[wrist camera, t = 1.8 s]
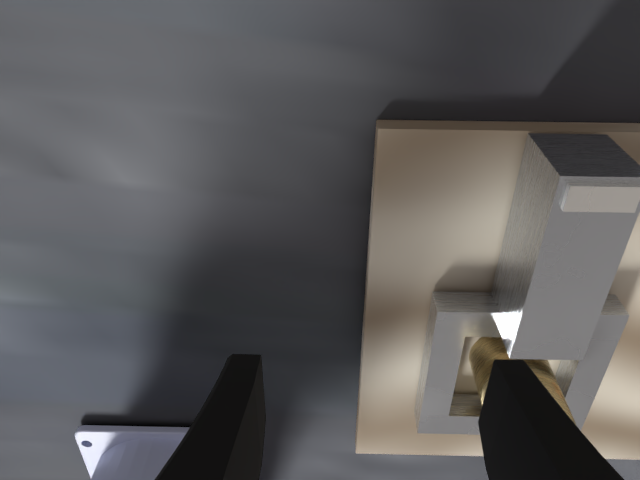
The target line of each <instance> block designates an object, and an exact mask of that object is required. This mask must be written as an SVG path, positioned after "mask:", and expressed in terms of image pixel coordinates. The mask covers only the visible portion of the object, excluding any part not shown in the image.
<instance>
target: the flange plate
mask: <svg viewBox="0 0 640 480" xmlns="http://www.w3.org/2000/svg"><path fill="white" fill-rule="evenodd" d="M639 212H640V165H639V164H638V163H637V162H636V161H635V160H634V159H632V158H631V157H630V156H629V155H628V154H627V153H626V152H625V151H624V150H623V149H622V148H621V147H620V146H619V145H618V144H616V143H615V142H614V141H613V140H612V139H611V138H610V137H609V136H608V135H607V134H545V133H528V134H527V138H526V143H525V147H524V152H523V156H522V160H521V165H520V169H519V173H518V178H517V182H516V186H515V191H514V195H513V199H512V204H511V208H510V212H509V217H508V221H507V225H506V230H505V234H504V238H503V243H502V247H501V252H500V256H499V260H498V265H497V269H496V273H495V278H494V282H493V286H492V291H491V292H444V291H432V298H431V304H430V311H429V317H428V324H427V330H426V337H425V343H424V350H423V356H422V363H421V369H420V376H419V382H418V389H417V395H416V402H415V408H414V414H415V420H416V427H417V433H422V434H468V435H480V431H479V425H478V420H479V416H480V412H481V409H482V405H481V402H480V398H479V395H477V394H453V393H454V388H455V383H456V378H457V374H458V369H459V364H460V359H461V354H462V350H463V345H464V340H465V337H502V340H503V343H504V345H505V348H506V351H507V353H508V356H509V359H541V360H561V361H560V364H559V367H558V369H557V372H556V375H555V377H556V380H557V382H558V384H559V386H560V389H561V391H562V393H563V396H564V398H565V400H566V402H567V405H568V407H569V409H570V411H571V414H572V416H573V418H574V420H575V423H576V425H577V427H578V428H579V429H580V431H581V429H582V427H583V425H584V422H585V420H586V418H587V415H588V413H589V410H590V408H591V406H592V403H593V401H594V399H595V396H596V394H597V392H598V389H599V387H600V384H601V382H602V380H603V377H604V375H605V373H606V370H607V368H608V366H609V363H610V361H611V358H612V356H613V354H614V351H615V349H616V347H617V344H618V342H619V340H620V337H621V335H622V332H623V330H624V328H625V325H626V323H627V321H628V318H629V316H630V315H629V314H628V312H627V311H626V309H625V308H624V306H623V305H622V303H621V302H620V300H619V299H618V297H617V296H616V295H614V294H608V293H609V290H610V288H611V285H612V282H613V280H614V277H615V275H616V272H617V269H618V267H619V264H620V262H621V259H622V256H623V254H624V251H625V248H626V246H627V243H628V241H629V238H630V235H631V233H632V230H633V228H634V225H635V222H636V220H637V217H638V215H639Z"/></svg>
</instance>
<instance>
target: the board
mask: <svg viewBox="0 0 640 480" xmlns="http://www.w3.org/2000/svg"><path fill="white" fill-rule="evenodd" d="M528 133H545V134H607V135H608V136H609V137H610V138H611V139H612V140H613V141H614V142H615V143H616V144H618V145H619V146H620V147H621V148H622V149H623V150H624V151H625V152H626V153H627V154H628V155H629V156H630V157H631V158H632V159H634V160H635V161H636V162H637V163H638V164H639V165H640V123H588V122H512V121H435V120H376V134H375V149H374V164H373V179H372V194H371V210H370V225H369V240H368V255H367V270H366V285H365V301H364V316H363V331H362V346H361V361H360V377H359V392H358V407H357V422H356V437H355V443H356V453H364V454H409V455H455V456H484V455H483V449H482V443H481V437H480V435H468V434H422V433H417V427H416V420H415V414H414V408H415V402H416V395H417V389H418V382H419V376H420V369H421V363H422V356H423V350H424V343H425V337H426V330H427V324H428V317H429V311H430V304H431V298H432V291H444V292H491V291H492V286H493V282H494V278H495V273H496V269H497V265H498V260H499V256H500V252H501V247H502V243H503V238H504V234H505V230H506V225H507V221H508V217H509V212H510V208H511V204H512V199H513V195H514V191H515V186H516V182H517V178H518V173H519V169H520V165H521V160H522V156H523V152H524V147H525V143H526V138H527V134H528ZM608 294H614V295H616V296H617V297H618V299H619V300H620V302H621V303H622V305H623V306H624V308H625V309H626V311H627V312H628V314H629V315H630V316H629V318H628V321H627V323H626V325H625V328H624V330H623V332H622V335H621V337H620V340H619V342H618V344H617V347H616V349H615V351H614V354H613V356H612V358H611V361H610V363H609V366H608V368H607V370H606V373H605V375H604V377H603V380H602V382H601V384H600V387H599V389H598V392H597V394H596V396H595V399H594V401H593V403H592V406H591V408H590V410H589V413H588V415H587V418H586V420H585V422H584V425H583V427H582V429H581V432H582V433H583V434H584V435H585V436H586V438H587V439H588V440H589V441H590V442H591V443H592V445H593V446H594V447H595V448H596V449H597V450H598V451H599V453H600V454H601V455H602V456H603V457H604V458H605V459H637V460H640V212H639V215H638V217H637V220H636V222H635V225H634V228H633V230H632V233H631V235H630V238H629V241H628V243H627V246H626V248H625V251H624V254H623V256H622V259H621V262H620V264H619V267H618V269H617V272H616V275H615V277H614V280H613V282H612V285H611V288H610V290H609V293H608ZM480 338H481V337H465V340H464V345H463V350H462V354H461V359H460V364H459V369H458V374H457V378H456V383H455V388H454V393H453V394H477V395H479V394H478V391H477V387H476V384H475V380H474V377H473V373H472V369H471V366H470V362H469V353H470V350H471V348H472V346H473V345H474V344H475V342H476V341H477V340H479V339H480ZM560 361H561V360H548V362H549V364H550V366H551V368H552V371H553V373H554V375H556V372H557V369H558V367H559V364H560Z"/></svg>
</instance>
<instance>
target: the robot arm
mask: <svg viewBox="0 0 640 480" xmlns="http://www.w3.org/2000/svg"><path fill="white" fill-rule="evenodd" d="M265 422H266V413H265V400H264V386H263V373H262V360H261V355H248V354H232V355H231V356H230V357H229V358H228V359H227V361H226V363H225V366H224V368H223V370H222V372H221V374H220V376H219V378H218V380H217V382H216V384H215V386H214V387H213V389H212V391H211V393H210V395H209V396H208V398H207V400H206V402H205V403H204V405H203V407H202V409H201V410H200V412H199V414H198V415H197V417H196V418H195V420H194V422H193V423H192V425H191V426H190V427H153V426H106V425H82V426H79V427H78V428H77V430H76V432H75V438H76V441H77V444H78V446H79V449H80V451H81V454H82V457H83V459H84V462H85V464H86V467H87V470H88V472H89V475H90V477H91V480H259V476H260V471H261V465H262V455H263V445H264V433H265ZM478 425H479V431H480V437H481V443H482V449H483V455H484V460H485V466H486V470H487V474H488V477H489V480H624V479H623V478H622V477H621V476H620V475H619V474H618V473H617V472H616V470H615V469H614V468H613V467H612V466H611V465H610V464H609V463H608V462H607V460H606V459H605V458H604V457H603V456H602V455H601V454H600V453H599V451H598V450H597V449H596V448H595V447H594V446H593V445H592V443H591V442H590V441H589V440H588V439H587V438H586V436H585V435H584V434H583V433H582V432H581V431H580V429H579V428H578V427H577V426H576V425H575V423H574V422H573V421H572V420H571V419H570V417H569V416H568V415H567V414H566V413H565V411H564V410H563V409H562V408H561V406H560V405H559V404H558V403H557V401H556V400H555V399H554V398H553V396H552V395H551V394H550V393H549V391H548V390H547V389H546V388H545V386H544V385H543V384H542V382H541V381H540V380H539V379H538V377H537V376H536V375H535V374H534V372H533V371H532V370H531V368H530V367H529V366H528V365H527V363H526V362H525V361H524V360H506V359H494V362H493V366H492V369H491V373H490V377H489V381H488V385H487V389H486V393H485V397H484V401H483V405H482V409H481V412H480V416H479V420H478Z"/></svg>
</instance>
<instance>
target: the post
mask: <svg viewBox="0 0 640 480" xmlns="http://www.w3.org/2000/svg"><path fill="white" fill-rule="evenodd" d="M494 359H506V360H524V361H525V362H526V363H527V365H528V366H529V367H530V368H531V370H532V371H533V372H534V374H535V375H536V376H537V377H538V379H539V380H540V381H541V382H542V384H543V385H544V386H545V388H546V389H547V390H548V391H549V393H550V394H551V395H552V396H553V398H554V399H555V400H556V401H557V403H558V404H559V405H560V406H561V408H562V409H563V410H564V411H565V413H566V414H567V415H568V416H569V417H570V419H571V420H572V421H573V422H574V423H575V420H574V418H573V416H572V414H571V411H570V409H569V407H568V405H567V402H566V400H565V398H564V396H563V393H562V391H561V389H560V386H559V384H558V382H557V380H556V377H555V375H554V373H553V371H552V368H551V366H550V364H549V362H548V360H541V359H509V356H508V353H507V351H506V348H505V345H504V343H503V340H502V337H481V338H480V339H479V340H477V341H476V342H475V344H474V345H473V346H472V348H471V350H470V353H469V362H470V366H471V369H472V373H473V377H474V380H475V384H476V387H477V391H478V394H479V398H480V402H481V405H483V401H484V397H485V393H486V389H487V385H488V381H489V377H490V373H491V369H492V366H493V362H494ZM575 425H576V423H575ZM576 426H577V425H576Z"/></svg>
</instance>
